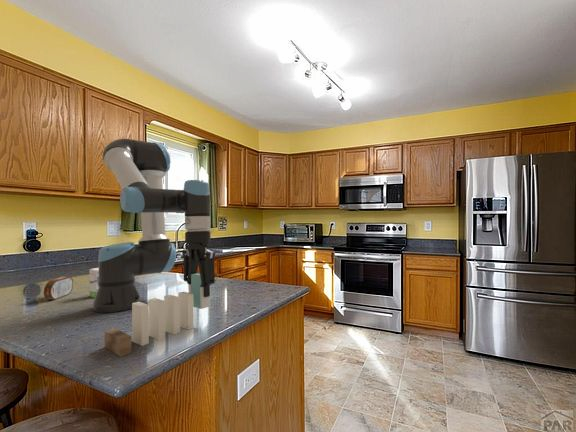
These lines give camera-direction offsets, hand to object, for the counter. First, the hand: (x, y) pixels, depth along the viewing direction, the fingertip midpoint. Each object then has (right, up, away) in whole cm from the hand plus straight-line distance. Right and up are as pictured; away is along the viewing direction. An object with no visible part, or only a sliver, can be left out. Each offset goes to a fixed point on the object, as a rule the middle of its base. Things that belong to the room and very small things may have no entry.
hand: (199, 305), depth 92 cm
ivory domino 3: (-6, -5, -7) cm, 10 cm away
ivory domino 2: (-8, -5, -10) cm, 14 cm away
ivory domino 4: (-3, -5, -3) cm, 7 cm away
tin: (-69, -7, +35) cm, 78 cm away
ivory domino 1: (-11, -5, -14) cm, 19 cm away
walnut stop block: (-15, -5, -18) cm, 24 cm away
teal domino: (0, 0, 0) cm, 0 cm away
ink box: (-53, -7, +37) cm, 65 cm away
